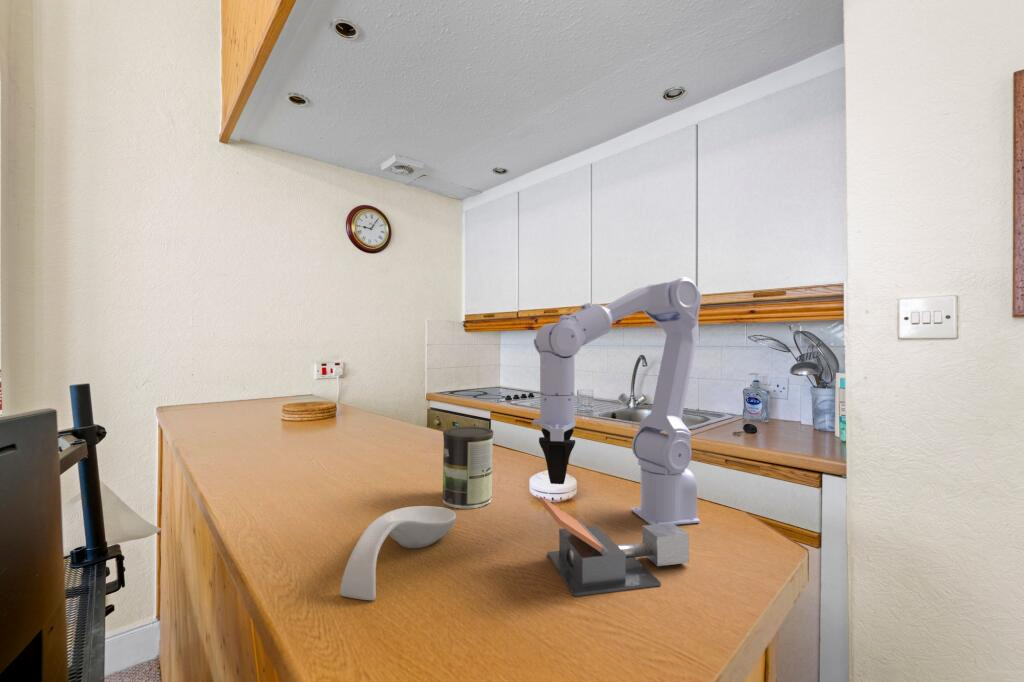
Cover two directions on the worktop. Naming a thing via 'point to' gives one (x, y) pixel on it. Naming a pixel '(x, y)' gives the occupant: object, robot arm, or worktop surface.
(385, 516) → the spoon rest
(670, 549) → the hitch pin
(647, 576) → the hitch block
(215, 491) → the worktop surface
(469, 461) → the coffee can
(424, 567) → the worktop surface
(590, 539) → the plate
